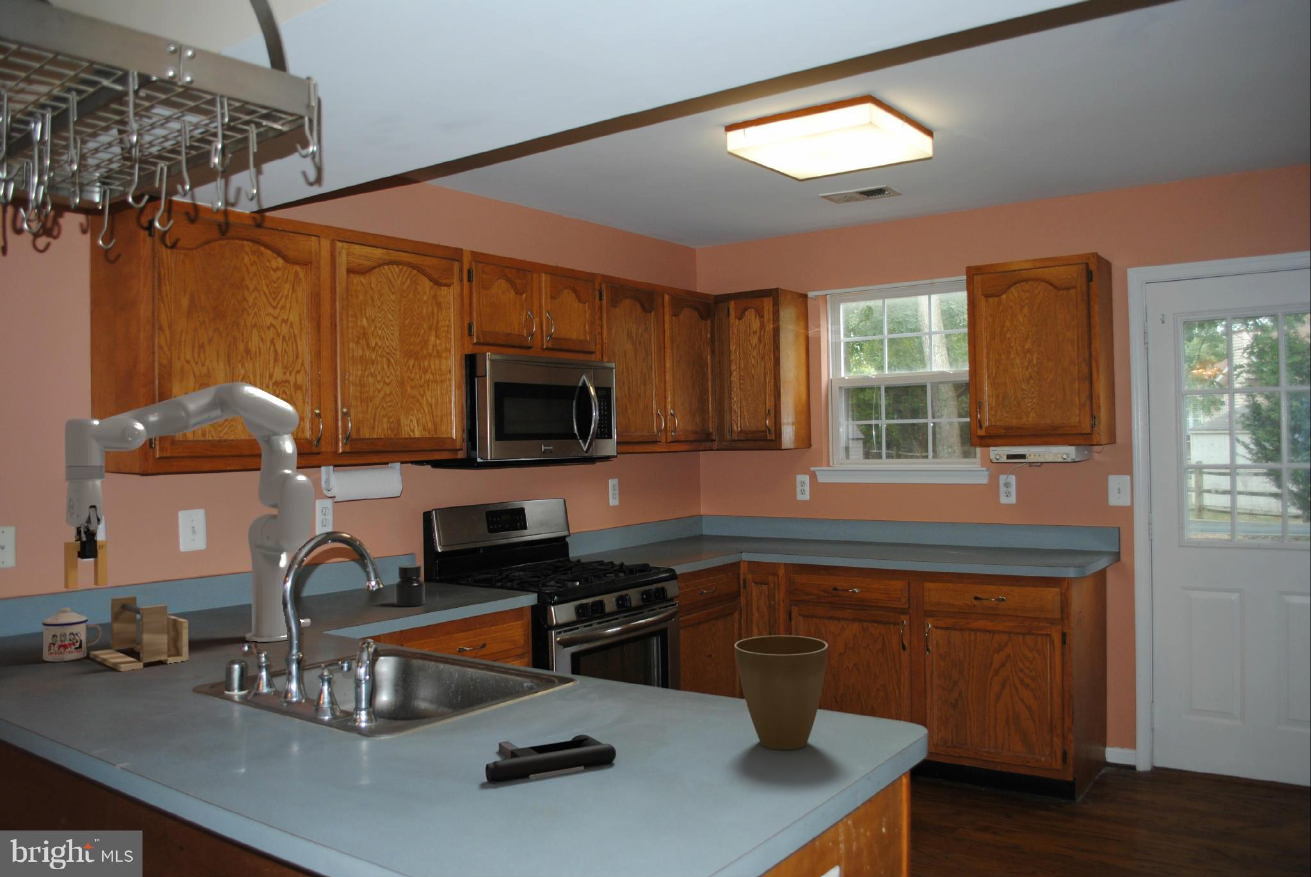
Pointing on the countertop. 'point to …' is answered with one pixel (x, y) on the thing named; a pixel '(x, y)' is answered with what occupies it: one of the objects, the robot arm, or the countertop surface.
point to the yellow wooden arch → (72, 564)
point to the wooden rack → (143, 635)
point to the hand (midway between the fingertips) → (86, 557)
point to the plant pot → (782, 686)
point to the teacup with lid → (66, 636)
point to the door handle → (549, 759)
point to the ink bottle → (409, 587)
